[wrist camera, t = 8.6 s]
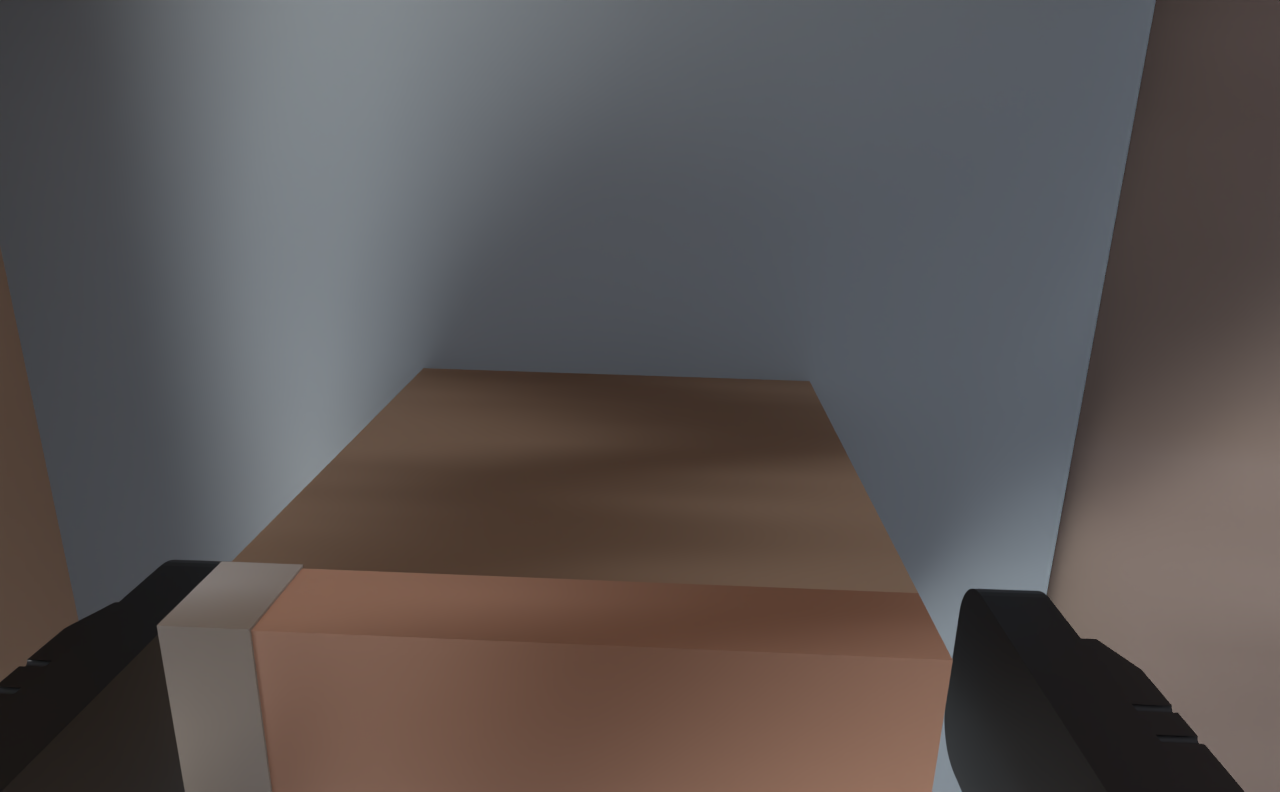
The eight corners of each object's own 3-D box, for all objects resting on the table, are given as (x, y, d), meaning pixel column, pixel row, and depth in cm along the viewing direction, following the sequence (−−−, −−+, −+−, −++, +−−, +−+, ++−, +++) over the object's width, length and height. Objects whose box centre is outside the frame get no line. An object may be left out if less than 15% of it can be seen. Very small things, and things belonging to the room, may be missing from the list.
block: (809, 379, 11) (954, 657, 5) (780, 708, 13) (869, 1197, 7) (419, 366, 11) (156, 626, 6) (437, 693, 13) (248, 1160, 7)
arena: (973, 927, 14) (1139, 1381, 9) (84, 887, 15) (-231, 1298, 10) (1172, -195, 9) (1776, -572, 4) (-171, -206, 10) (-1093, -557, 5)
